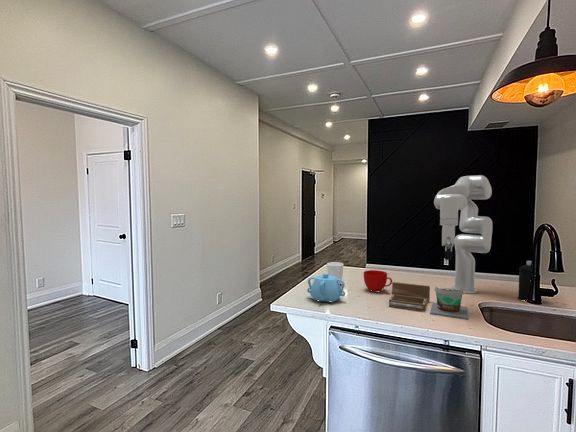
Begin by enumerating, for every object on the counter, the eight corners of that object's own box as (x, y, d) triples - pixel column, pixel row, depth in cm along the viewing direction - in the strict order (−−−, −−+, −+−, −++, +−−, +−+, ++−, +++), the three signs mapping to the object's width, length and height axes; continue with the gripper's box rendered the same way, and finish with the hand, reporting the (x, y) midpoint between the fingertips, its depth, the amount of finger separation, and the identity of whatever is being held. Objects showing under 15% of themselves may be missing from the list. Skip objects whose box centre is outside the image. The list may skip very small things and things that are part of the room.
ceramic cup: (385, 296, 171) (385, 278, 170) (358, 290, 183) (358, 272, 183) (398, 291, 179) (398, 274, 179) (372, 285, 192) (372, 269, 191)
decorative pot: (317, 306, 157) (317, 278, 156) (305, 296, 172) (305, 271, 171) (347, 302, 162) (347, 276, 161) (333, 293, 177) (333, 269, 176)
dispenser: (392, 296, 171) (392, 281, 170) (429, 301, 162) (429, 286, 162) (386, 306, 156) (386, 290, 155) (426, 312, 147) (427, 295, 147)
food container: (435, 311, 146) (436, 289, 146) (434, 307, 152) (434, 286, 151) (466, 314, 142) (466, 292, 142) (463, 309, 148) (463, 288, 148)
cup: (331, 281, 202) (331, 261, 201) (346, 284, 196) (346, 263, 196) (324, 285, 194) (324, 264, 193) (338, 287, 188) (338, 266, 188)
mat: (432, 303, 159) (432, 302, 159) (467, 308, 152) (467, 306, 152) (430, 314, 145) (430, 312, 145) (468, 319, 138) (468, 318, 138)
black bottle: (516, 300, 163) (517, 261, 162) (519, 296, 169) (520, 258, 168) (536, 303, 158) (538, 263, 157) (538, 299, 164) (540, 260, 163)
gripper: (440, 219, 161) (440, 253, 162) (439, 223, 145) (439, 261, 147) (457, 219, 157) (457, 254, 159) (458, 224, 142) (457, 262, 143)
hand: (448, 257), depth 153 cm, fingers open, 9 cm apart
